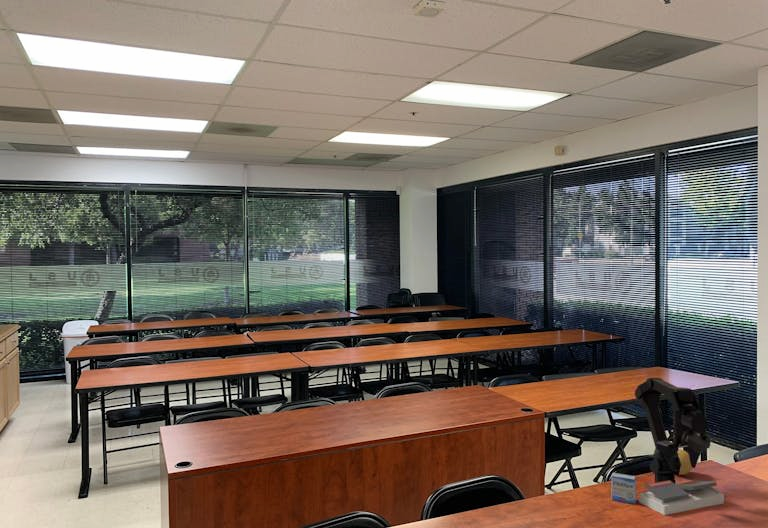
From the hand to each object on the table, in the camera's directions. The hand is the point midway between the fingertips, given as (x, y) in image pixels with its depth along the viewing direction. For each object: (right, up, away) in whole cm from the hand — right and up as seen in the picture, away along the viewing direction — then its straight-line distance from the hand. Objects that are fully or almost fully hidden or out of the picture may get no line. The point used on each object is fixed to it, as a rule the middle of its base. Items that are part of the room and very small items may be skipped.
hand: (683, 469), depth 194 cm
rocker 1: (-7, -7, -1) cm, 10 cm away
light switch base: (0, -12, +1) cm, 12 cm away
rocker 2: (+6, -7, +3) cm, 10 cm away
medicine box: (-19, -13, +4) cm, 23 cm away
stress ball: (+13, -13, +28) cm, 33 cm away
